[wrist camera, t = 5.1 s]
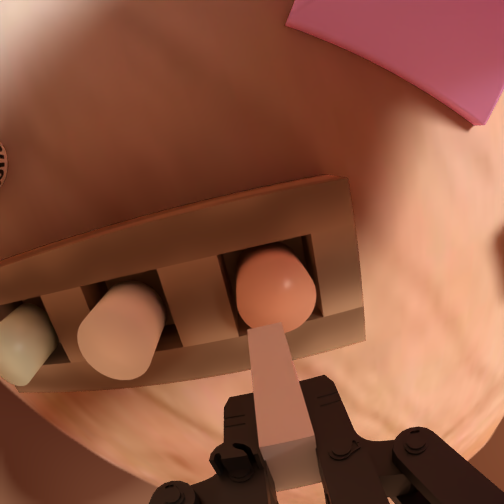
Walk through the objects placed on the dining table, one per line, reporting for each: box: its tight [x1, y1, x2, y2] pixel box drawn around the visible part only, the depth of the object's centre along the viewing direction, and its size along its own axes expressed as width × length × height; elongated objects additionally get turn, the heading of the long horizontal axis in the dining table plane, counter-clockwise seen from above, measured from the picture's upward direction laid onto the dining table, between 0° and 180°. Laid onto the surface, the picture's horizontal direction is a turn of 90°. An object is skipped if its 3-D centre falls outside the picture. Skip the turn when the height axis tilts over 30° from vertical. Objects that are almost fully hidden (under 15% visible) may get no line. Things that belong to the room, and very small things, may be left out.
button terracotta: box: [236, 241, 316, 333], centre depth 21 cm, size 5×5×5 cm
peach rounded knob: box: [77, 280, 166, 380], centre depth 19 cm, size 5×5×5 cm
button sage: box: [0, 303, 58, 386], centre depth 19 cm, size 5×5×5 cm
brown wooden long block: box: [0, 174, 366, 393], centre depth 23 cm, size 12×32×5 cm, turn 102°
